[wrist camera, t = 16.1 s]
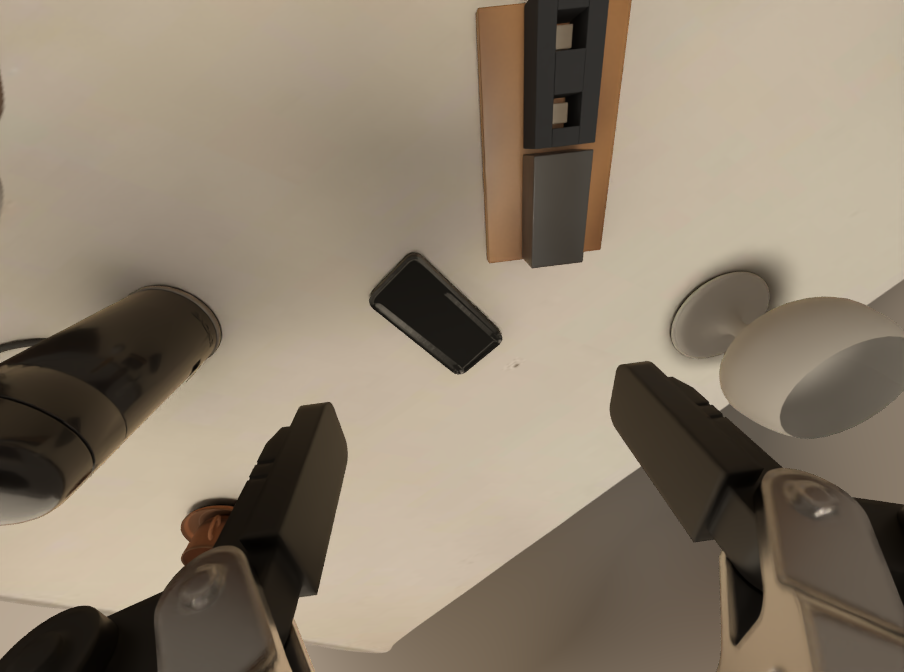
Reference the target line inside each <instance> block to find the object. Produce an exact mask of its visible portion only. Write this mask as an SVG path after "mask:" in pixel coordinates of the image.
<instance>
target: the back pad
mask: <svg viewBox="0 0 904 672" xmlns="http://www.w3.org/2000/svg"><path fill="white" fill-rule="evenodd" d="M608 8H609V0H528V1H527V3H526V4H525V6H524V129H523V148H524V149H543V148H551V147H560V146H569V145H577V144H586V143H594V142H595V138H596V128H597V118H598V108H599V98H600V88H601V78H602V68H603V58H604V48H605V38H606V28H607V18H608ZM569 22H570V23H569ZM561 23H569V24H573V31H572V47H571V48H570V49H569V50H562V51H556V31H557V24H561ZM563 97H565V103H566V102H568V111H567V122H566V123H564V127H563V128H555V129H552V124H553V101H554V99H555V98H563Z"/></svg>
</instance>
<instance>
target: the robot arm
mask: <svg viewBox="0 0 904 672" xmlns="http://www.w3.org/2000/svg"><path fill="white" fill-rule="evenodd" d="M220 341H221V330H220V326H219V323H218V321H217V319H216V318H215V316H214V315H213V313H212V312H211V311H210V309H209V308H208V307H207V306H206V305H204V304H203V303H202V302H201V301H200V300H198V299H197V298H195V297H194V296H192V295H190V294H188V293H186V292H184V291H181V290H179V289H176V288H172V287H167V286H148V287H144V288H141V289H138V290H136V291H135V292H133V293H131V294H130V295H128V296H127V297H125V298H124V299H122V300H120V301H118V302H116V303H114V304H112V305H110V306H108V307H106V308H104V309H102V310H100V311H98V312H97V313H95V314H93V315H91V316H89V317H87V318H85V319H83V320H81V321H79V322H78V323H76V324H74V325H72V326H70V327H68V328H66V329H64V330H62V331H60V332H59V333H57V334H55V335H53V336H51V337H49V338H47V339H34V340H25V341H18V342H12V343H7V344H3V345H0V353H1V352H4V351H7V350H11V349H16V348H21V347H28V346H32V347H30V348H28V349H26V350H24V351H22V352H21V353H19V354H17V355H15V356H13V357H11V358H9V359H7V360H5V361H3V362H2V363H0V526H3V525H12V524H18V523H23V522H27V521H31V520H34V519H37V518H40V517H42V516H44V515H46V514H48V513H50V512H51V511H53V510H54V509H56V508H57V507H59V506H60V505H61V504H63V503H64V502H65V501H66V500H67V499H68V498H69V497H70V496H71V495H72V494H73V493H74V492H75V491H76V490H77V489H78V488H79V487H80V486H81V485H82V484H83V483H84V482H85V481H86V480H87V479H88V478H89V477H90V476H91V475H92V474H93V473H94V472H95V471H96V470H97V469H98V468H99V467H100V466H101V465H102V464H103V463H104V462H105V461H106V460H107V459H108V458H109V457H110V456H111V455H112V454H113V453H114V452H115V451H116V450H117V449H118V448H119V447H120V446H121V445H122V444H123V443H124V442H125V441H126V440H127V439H128V437H129V436H130V435H131V434H132V433H133V432H134V431H135V430H136V429H137V428H138V427H139V426H140V425H141V424H142V423H143V422H144V421H145V420H146V419H147V418H148V417H149V416H150V415H151V414H152V413H153V412H154V411H155V410H156V409H157V408H158V407H159V406H160V405H161V404H162V403H163V402H164V401H165V400H166V399H167V398H168V397H169V396H170V395H171V394H172V393H173V392H174V391H175V390H176V389H177V388H178V387H179V386H180V385H181V384H182V383H183V382H184V381H185V380H186V379H187V378H188V377H189V376H190V375H191V374H192V373H193V374H194V373H195V372H196V371H197V369H198V368H199V367H200V366H201V364H202V363H203V362H204V361H205V360H206V359H207V358H209V357H210V356H211V355H212V354H213V353H214V352H215V351H216V350H217V348H218V347H219V345H220ZM193 374H192V375H191V376H190V377H189V379H190V378H191V377H192V376H193ZM189 379H188V380H189ZM188 380H187V381H188ZM187 381H186V382H187ZM610 416H611V420H612V422H613V425H614V427H615V428H616V430H617V431H618V433H619V434H620V436H621V437H622V439H623V440H624V442H625V443H626V445H627V446H628V447H629V449H630V450H631V452H632V453H633V455H634V456H635V458H636V459H637V461H638V462H639V463H640V465H641V466H642V468H643V469H644V471H645V472H646V474H647V475H648V477H649V478H650V480H651V481H652V482H653V484H654V485H655V487H656V488H657V490H658V491H659V493H660V494H661V496H662V497H663V498H664V500H665V501H666V503H667V504H668V506H669V507H670V509H671V510H672V512H673V513H674V514H675V516H676V517H677V519H678V520H679V521H680V523H681V524H682V526H683V527H684V529H685V530H686V532H687V533H688V535H689V536H690V538H691V539H692V541H693V542H700V541H707V540H715V541H716V542H717V543H718V545H719V546H720V548H721V549H722V551H721V553H720V556H719V585H720V622H721V623H720V624H721V653H720V660H719V664H718V668H717V671H716V672H904V505H903V504H896V503H889V502H882V501H875V500H868V499H861V498H853V497H851V496H850V495H849V494H848V493H846V492H845V491H843V490H842V489H841V488H839V487H837V486H836V485H834V484H832V483H831V482H829V481H827V480H825V479H823V478H821V477H818V476H816V475H814V474H811V473H808V472H805V471H801V470H797V469H790V468H783V467H781V466H780V465H779V464H778V463H777V462H776V461H775V460H773V459H772V458H771V457H770V456H769V455H768V454H767V453H766V452H764V451H763V450H762V449H761V448H760V447H759V446H758V445H757V444H756V443H754V442H753V441H752V440H751V439H750V438H749V437H748V436H747V435H745V434H744V433H743V432H742V431H741V430H740V429H739V428H738V427H737V426H735V425H734V424H733V423H732V422H731V421H730V420H729V419H727V418H726V417H723V415H722V413H721V412H720V411H719V410H717V409H716V408H715V407H714V406H713V405H710V404H709V401H707V400H706V399H705V398H704V397H703V396H702V395H701V394H700V393H698V392H697V391H696V390H695V389H694V388H693V387H691V386H689V385H687V384H685V383H683V382H681V381H679V380H677V379H676V378H674V377H667V376H666V375H665V374H664V373H663V372H662V371H661V370H660V369H659V368H658V367H656V366H655V365H654V364H653V363H652V362H649V361H645V362H637V363H630V364H622V365H619V366H618V368H617V370H616V375H615V380H614V386H613V391H612V397H611V402H610ZM347 458H348V451H347V443H346V440H345V437H344V434H343V431H342V429H341V426H340V423H339V420H338V418H337V415H336V412H335V409H334V407H333V405H332V404H331V403H330V402H325V403H318V404H310V405H303V406H300V407H299V409H298V410H297V413H296V415H295V417H294V419H293V421H292V424H291V426H289V427H282V428H281V429H280V430H279V431H278V432H277V433H276V434H275V435H274V436H273V437H272V438H271V439H270V440H269V441H268V442H267V443H266V445H265V447H264V449H263V451H262V453H261V455H260V457H259V459H258V461H257V465H255V467H254V468H253V470H252V472H251V474H250V476H249V477H250V479H249V481H247V482H246V484H245V486H244V488H243V490H242V492H241V494H240V496H239V498H238V500H237V502H236V504H235V506H234V508H233V510H232V511H231V513H230V515H229V517H228V519H227V521H226V523H225V525H224V527H223V529H222V531H221V533H220V535H219V537H218V539H217V541H216V543H215V544H214V546H213V548H212V549H210V550H208V551H206V552H204V553H202V554H200V555H199V556H197V557H196V558H194V559H193V560H191V561H190V562H189V563H188V564H186V565H185V566H184V567H183V568H182V569H181V570H180V571H179V572H178V573H177V574H176V575H175V576H174V577H173V579H172V580H171V581H170V582H169V584H168V585H167V587H166V588H165V589H164V591H163V592H161V593H159V594H156V595H154V596H152V597H150V598H147V599H145V600H143V601H141V602H139V603H136V604H134V605H132V606H130V607H127V608H125V609H123V610H121V611H119V612H116V613H114V614H112V615H110V616H107V617H106V616H105V615H104V614H102V613H101V612H99V611H98V610H97V609H95V608H93V607H91V606H77V607H74V608H70V609H68V610H65V611H63V612H61V613H58V614H57V615H55V616H53V617H51V618H49V619H48V620H47V621H45V622H43V623H41V624H40V625H39V626H37V627H36V628H35V629H33V630H32V631H30V632H29V633H28V634H27V635H26V636H24V637H23V638H22V639H21V640H20V641H18V642H17V643H16V644H15V645H14V646H13V647H12V648H11V649H10V650H9V651H8V652H7V653H6V654H5V655H4V656H3V658H1V660H0V672H315V670H314V668H313V665H312V662H311V660H310V657H309V655H308V652H307V650H306V647H305V645H304V642H303V640H302V637H301V634H300V632H299V629H298V627H297V624H296V622H295V620H294V614H295V610H296V606H297V603H298V599H299V597H305V596H312V595H317V592H318V588H319V584H320V579H321V575H322V571H323V566H324V562H325V557H326V553H327V549H328V544H329V540H330V535H331V531H332V527H333V522H334V518H335V513H336V509H337V505H338V500H339V496H340V491H341V487H342V483H343V478H344V474H345V470H346V465H347Z"/></svg>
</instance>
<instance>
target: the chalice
mask: <svg viewBox="0 0 904 672" xmlns="http://www.w3.org/2000/svg"><path fill="white" fill-rule="evenodd" d="M769 301H770V299H769V289H768V286H767V284H766V283H765V281H764V280H763V279H762V278H761V277H759V276H757V275H755V274H754V273H748V272H732V273H729V274H725V275H721V276H719V277H717V278H715V279H712V280H710V281H708V282H707V283H705V284H704V285H702V286H701V287H699V288H698V289H697V290H696V291H695V292H694V293H693V294H691V295H690V296H689V297H688V298H687V300H686V301H685V302H684V303H683V305H682V306H681V307H680V309H679V311H678V312H677V314H676V316H675V318H674V321H673V324H672V331H671V337H672V342H673V344H674V346H675V348H676V350H678V351H679V352H680V353H681V354H683V355H685V356H687V357H690V358H698V359H699V358H709V357H713V356H717V355H720V354H723V353H725V355H724V357H723V359H722V361H721V366H720V371H719V378H720V385H721V389H722V391H723V393H724V395H725V397H726V399H727V400H728V402H729V403H730V404H731V405H732V406H733V407H734V408H735V409H736V410H737V411H739V412H741V413H742V414H743V415H745V416H747V417H748V418H750V419H751V420H753V421H754V422H756V423H758V424H760V425H762V426H764V427H766V428H769V429H771V430H773V431H776V432H779V433H782V434H785V435H789V436H793V437H797V438H809V439H810V438H811V439H812V438H820V437H826V436H830V435H833V434H837V433H840V432H843V431H845V430H847V429H850V428H852V427H855V426H856V425H858V424H860V423H862V422H864V421H866V420H868V419H869V418H871V417H872V416H874V415H875V414H877V413H878V412H880V411H881V410H883V409H884V408H885V407H886V406H888V405H889V404H890V403H891V402H892V401H894V400H895V399H896V398H897V397H898V396H899V395H900V394H901V393H902V392H903V391H904V329H903V328H901V327H900V326H899V325H897V323H895V322H894V321H893V320H891V319H890V318H888V317H887V316H885V315H884V314H882V313H880V312H878V311H876V310H874V309H872V308H870V307H868V306H866V305H864V304H862V303H859V302H856V301H853V300H850V299H846V298H837V297H813V298H806V299H801V300H797V301H793V302H789V303H786V304H783V305H781V306H779V307H776V308H774V309H772V310H770V311H768V312H767V309H768V305H769ZM766 312H767V313H766Z"/></svg>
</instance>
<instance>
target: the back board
mask: <svg viewBox="0 0 904 672" xmlns="http://www.w3.org/2000/svg"><path fill="white" fill-rule="evenodd" d="M631 1H632V0H609V8H608V18H607V28H606V38H605V48H604V58H603V68H602V78H601V88H600V98H599V108H598V118H597V128H596V138H595V142H594V143H586V144H577V145H569V146H560V147H551V148H543V149H524V148H523V129H524V6H525V4H526V3H521V4H512V5H502V6H493V7H483V8H478V10H477V12H476V30H477V52H478V73H479V95H480V116H481V137H482V159H483V180H484V202H485V223H486V244H487V260H488V262H489V263H495V262H503V261H512V260H520V259H524V260H525V261H526V262H527V263H528V265H529V266H530V267H531V268H538V267H546V266H554V265H562V264H571V263H579V262H582V261H583V252H585V251H593V250H600V249H601V241H602V233H603V225H604V217H605V209H606V201H607V193H608V185H609V177H610V169H611V161H612V153H613V145H614V137H615V129H616V121H617V113H618V105H619V97H620V89H621V81H622V73H623V65H624V57H625V49H626V41H627V33H628V25H629V17H630V9H631ZM569 23H570V22H569ZM569 23H561V24H557V31H556V51H562V50H569V49H570V48H571V47H572V31H573V24H569ZM567 111H568V102H566V103H565V97H563V98H555V99H554V101H553V124H552V129H555V128H563V127H564V123H566V122H567Z"/></svg>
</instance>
